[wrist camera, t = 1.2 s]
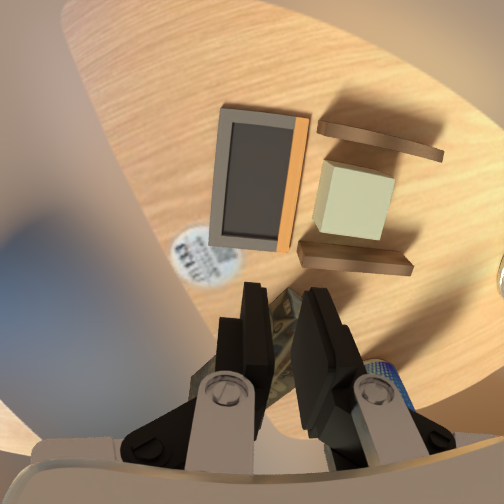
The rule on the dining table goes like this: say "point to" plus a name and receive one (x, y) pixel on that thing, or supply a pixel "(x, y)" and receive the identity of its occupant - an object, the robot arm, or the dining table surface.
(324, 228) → the block
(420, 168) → the dining table surface
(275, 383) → the beverage carton
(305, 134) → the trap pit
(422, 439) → the robot arm
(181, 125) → the dining table surface
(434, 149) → the brown parallel walls
